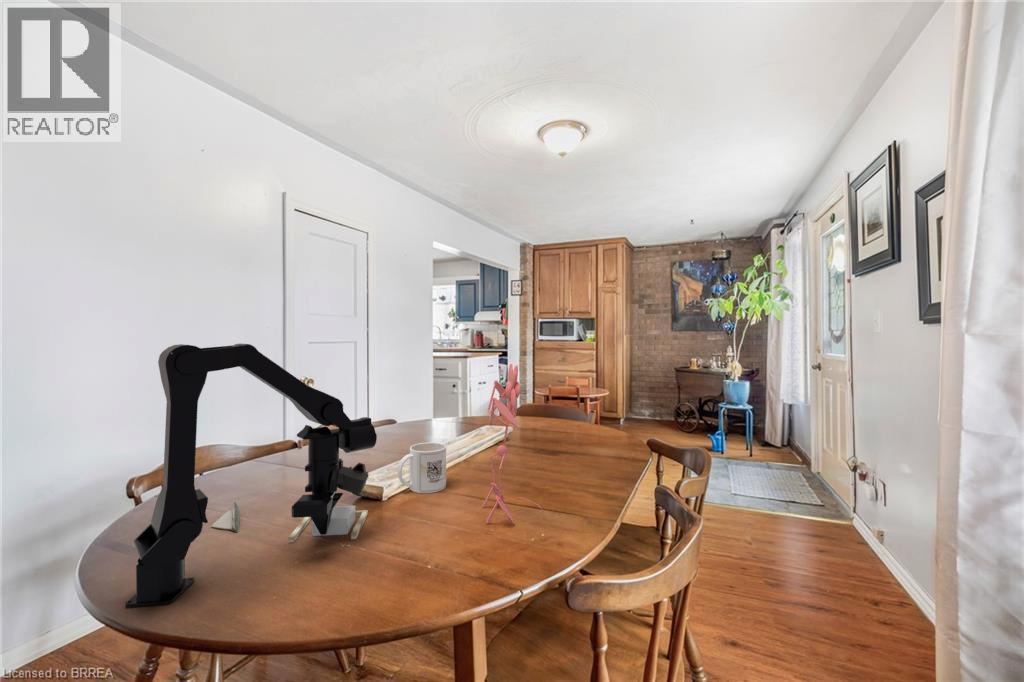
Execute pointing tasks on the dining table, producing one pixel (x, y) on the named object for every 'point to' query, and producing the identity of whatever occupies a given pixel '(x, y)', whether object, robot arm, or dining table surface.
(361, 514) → the tile bay
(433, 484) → the mug
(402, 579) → the dining table surface
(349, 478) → the robot arm
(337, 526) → the pale blue eraser block
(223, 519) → the ceramic fragment
